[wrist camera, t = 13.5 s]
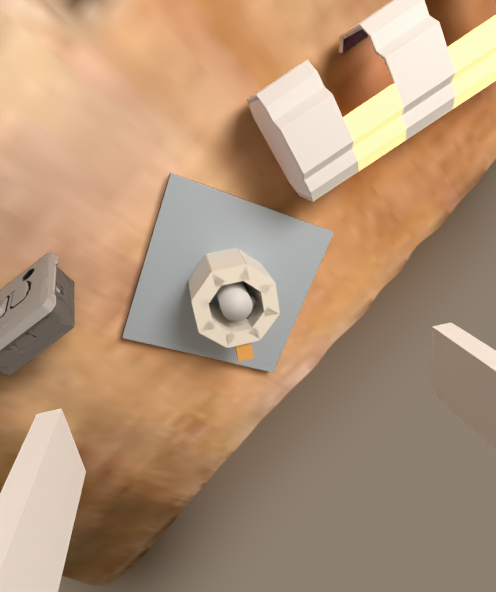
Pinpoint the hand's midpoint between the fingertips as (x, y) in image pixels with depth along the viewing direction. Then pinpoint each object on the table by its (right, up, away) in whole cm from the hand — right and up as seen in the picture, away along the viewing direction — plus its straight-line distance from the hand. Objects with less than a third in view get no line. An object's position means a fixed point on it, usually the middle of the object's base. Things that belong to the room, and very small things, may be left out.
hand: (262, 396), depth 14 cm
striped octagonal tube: (+12, +25, +26) cm, 38 cm away
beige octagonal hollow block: (-2, +4, +29) cm, 30 cm away
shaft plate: (-3, +5, +30) cm, 31 cm away
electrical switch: (-22, +4, +27) cm, 35 cm away
